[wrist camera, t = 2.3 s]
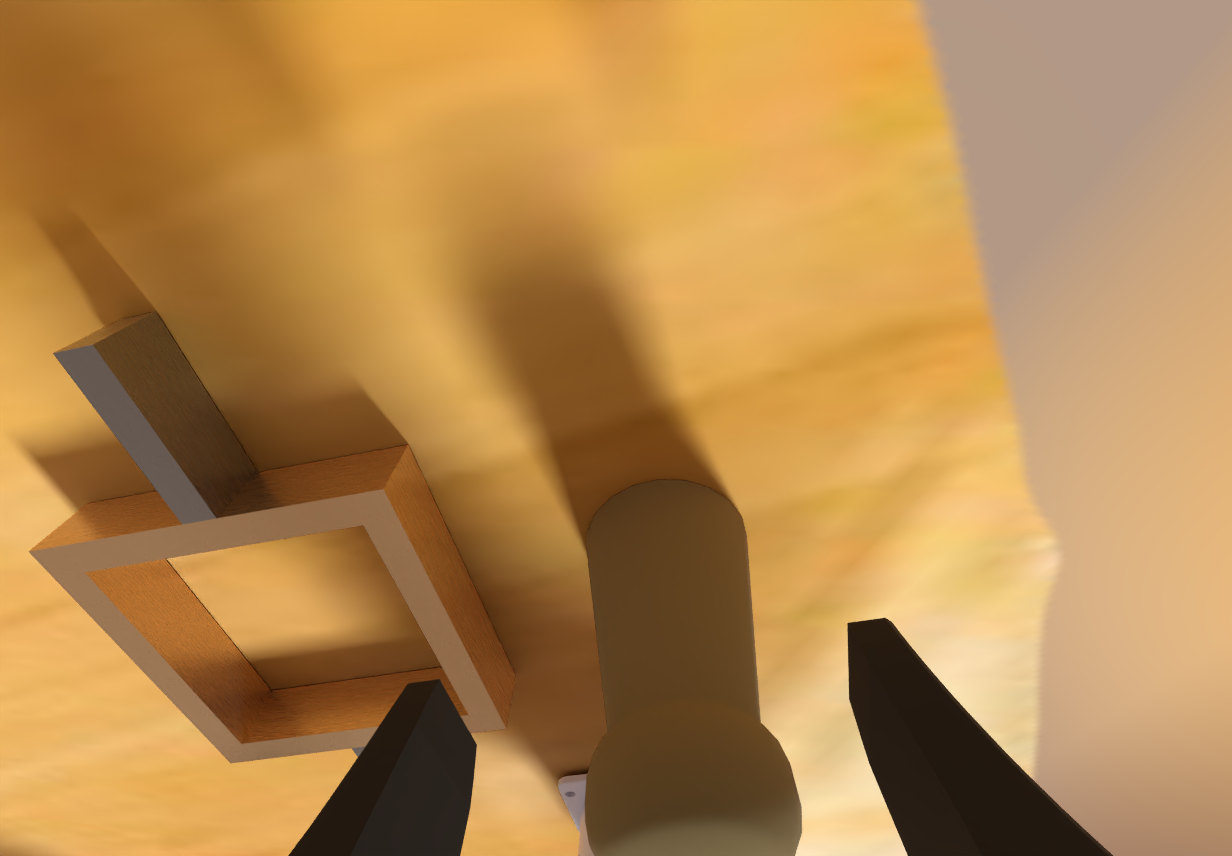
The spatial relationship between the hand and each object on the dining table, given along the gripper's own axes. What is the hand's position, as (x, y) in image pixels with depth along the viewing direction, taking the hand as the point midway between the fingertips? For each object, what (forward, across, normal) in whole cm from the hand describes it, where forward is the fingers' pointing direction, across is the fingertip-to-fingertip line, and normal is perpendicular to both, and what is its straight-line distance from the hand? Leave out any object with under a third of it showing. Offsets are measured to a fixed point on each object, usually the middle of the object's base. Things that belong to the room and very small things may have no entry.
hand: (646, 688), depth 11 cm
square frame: (+10, +14, +6) cm, 18 cm away
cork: (+11, 0, +6) cm, 12 cm away
